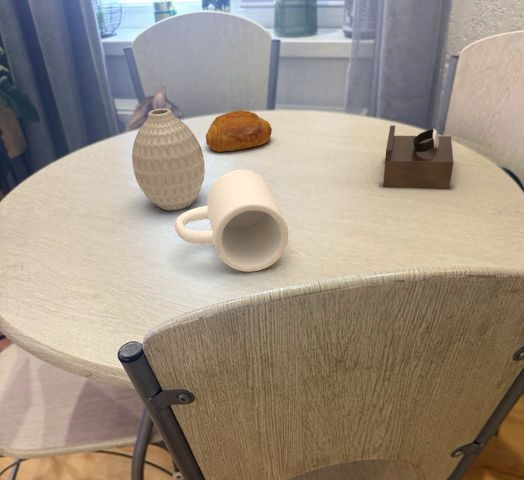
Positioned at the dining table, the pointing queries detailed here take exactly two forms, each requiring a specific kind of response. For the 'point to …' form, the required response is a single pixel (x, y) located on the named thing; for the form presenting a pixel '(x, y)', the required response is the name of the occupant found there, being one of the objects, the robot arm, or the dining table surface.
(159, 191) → the vase
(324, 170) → the dining table surface
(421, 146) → the watch
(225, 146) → the croissant
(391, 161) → the brown wooden box
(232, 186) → the mug
